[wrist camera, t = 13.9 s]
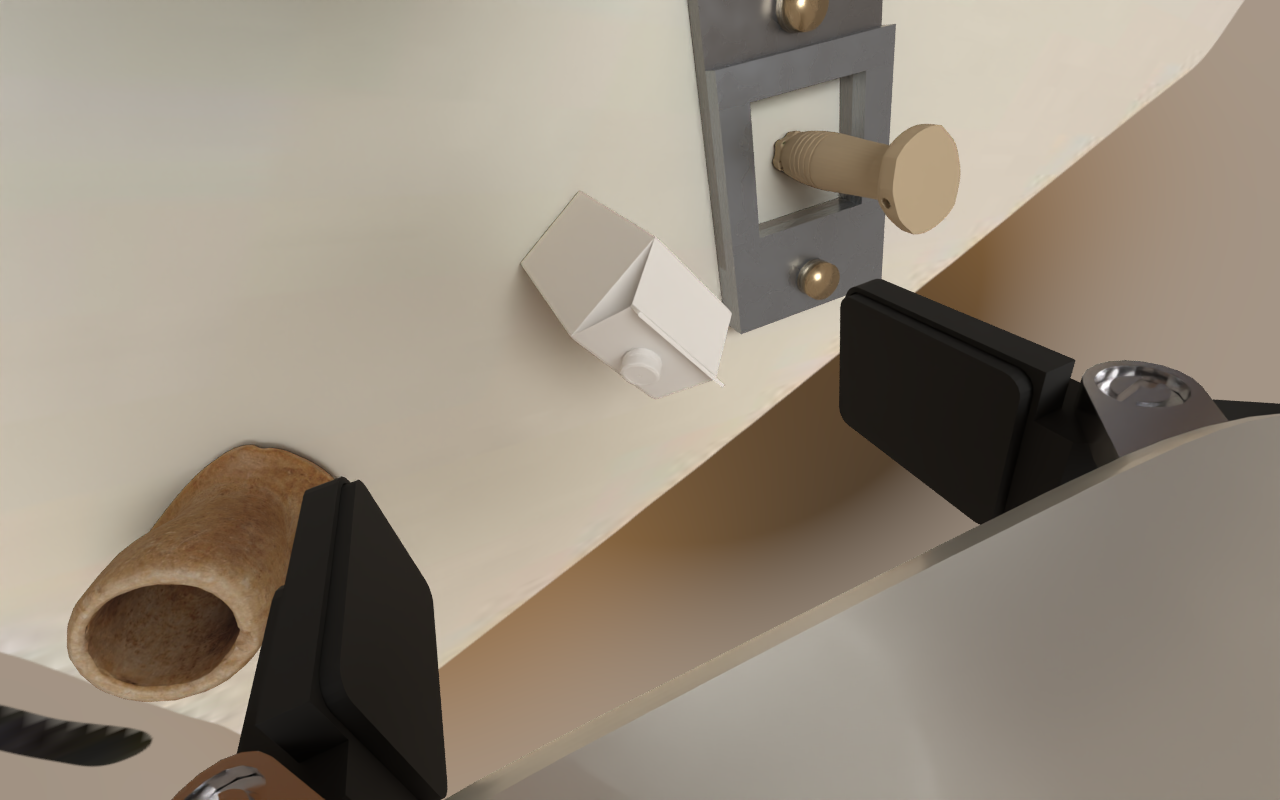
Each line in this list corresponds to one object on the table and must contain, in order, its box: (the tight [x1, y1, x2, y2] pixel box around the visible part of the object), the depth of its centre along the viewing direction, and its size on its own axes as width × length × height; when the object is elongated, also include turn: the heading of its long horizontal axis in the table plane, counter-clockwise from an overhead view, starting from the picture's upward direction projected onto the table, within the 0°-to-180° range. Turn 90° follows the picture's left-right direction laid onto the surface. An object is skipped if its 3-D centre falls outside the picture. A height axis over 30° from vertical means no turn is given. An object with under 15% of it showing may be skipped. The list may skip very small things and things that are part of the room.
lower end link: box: [688, 0, 882, 271], centre depth 43 cm, size 20×15×3 cm
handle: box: [773, 124, 960, 234], centre depth 40 cm, size 5×6×15 cm
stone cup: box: [67, 445, 334, 702], centre depth 38 cm, size 15×12×15 cm
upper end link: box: [705, 24, 896, 334], centre depth 46 cm, size 20×15×5 cm
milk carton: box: [521, 191, 732, 399], centre depth 36 cm, size 7×7×19 cm
